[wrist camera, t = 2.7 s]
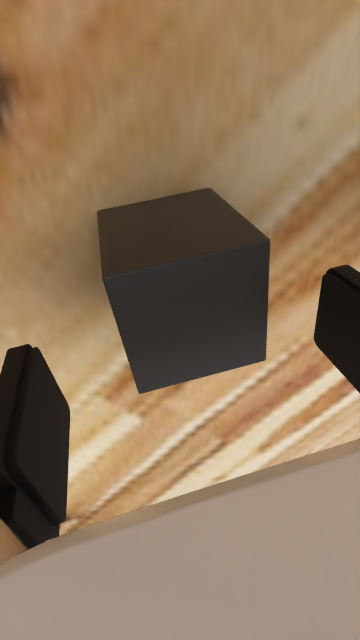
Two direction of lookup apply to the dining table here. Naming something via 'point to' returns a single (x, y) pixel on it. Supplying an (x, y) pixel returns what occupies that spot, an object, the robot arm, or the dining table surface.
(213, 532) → the robot arm
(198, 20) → the dining table surface
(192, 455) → the dining table surface
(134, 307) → the black block
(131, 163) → the dining table surface
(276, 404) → the dining table surface
